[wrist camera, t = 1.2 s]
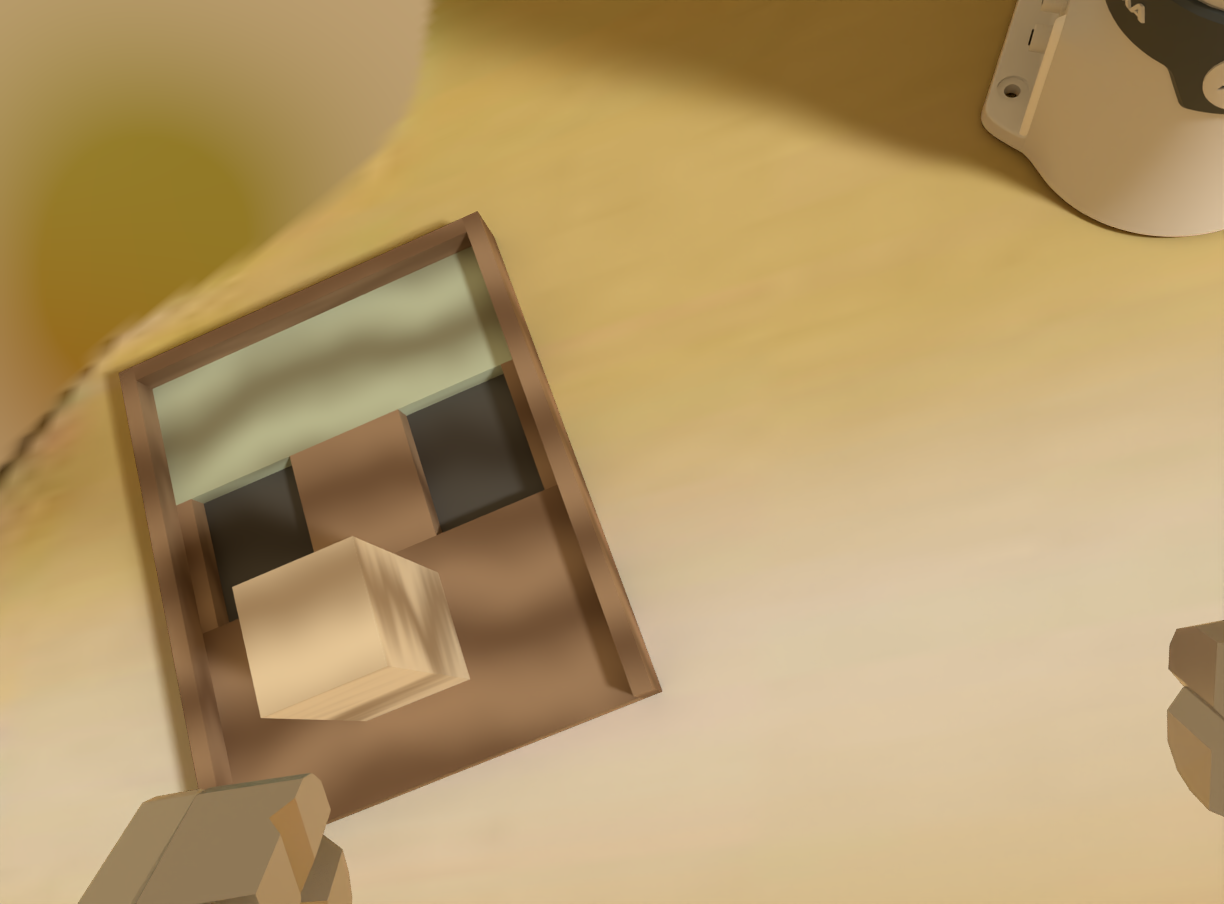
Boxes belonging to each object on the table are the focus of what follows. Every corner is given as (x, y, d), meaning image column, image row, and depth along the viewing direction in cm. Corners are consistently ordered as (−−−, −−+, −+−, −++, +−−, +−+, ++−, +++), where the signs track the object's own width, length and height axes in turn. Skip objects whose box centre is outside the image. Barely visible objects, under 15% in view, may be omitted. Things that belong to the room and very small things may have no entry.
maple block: (470, 679, 49) (387, 666, 40) (366, 721, 49) (260, 718, 40) (438, 572, 51) (352, 535, 42) (338, 614, 52) (231, 586, 42)
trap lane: (662, 691, 48) (652, 688, 45) (246, 856, 50) (212, 863, 47) (493, 236, 58) (477, 211, 55) (151, 389, 60) (118, 372, 57)
